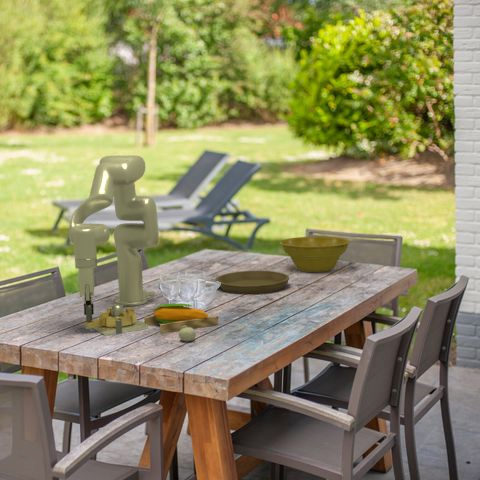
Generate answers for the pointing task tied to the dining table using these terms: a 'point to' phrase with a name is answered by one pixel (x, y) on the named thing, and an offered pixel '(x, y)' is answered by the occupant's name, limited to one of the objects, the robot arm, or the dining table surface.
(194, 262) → the dining table surface
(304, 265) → the planter bowl
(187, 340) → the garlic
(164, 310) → the corn
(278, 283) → the plant saucer
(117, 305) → the housing plate
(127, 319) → the tan angular piece
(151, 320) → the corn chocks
